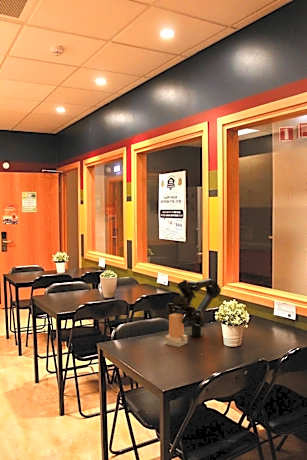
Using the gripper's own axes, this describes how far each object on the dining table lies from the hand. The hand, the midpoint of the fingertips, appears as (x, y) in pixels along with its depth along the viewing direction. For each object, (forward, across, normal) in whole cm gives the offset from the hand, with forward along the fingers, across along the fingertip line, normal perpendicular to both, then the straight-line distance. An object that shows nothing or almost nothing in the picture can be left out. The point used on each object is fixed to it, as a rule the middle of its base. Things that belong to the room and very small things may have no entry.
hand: (175, 321), depth 238 cm
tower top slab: (+7, 0, +9) cm, 11 cm away
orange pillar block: (+5, 0, +7) cm, 8 cm away
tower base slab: (+8, 0, +10) cm, 13 cm away
